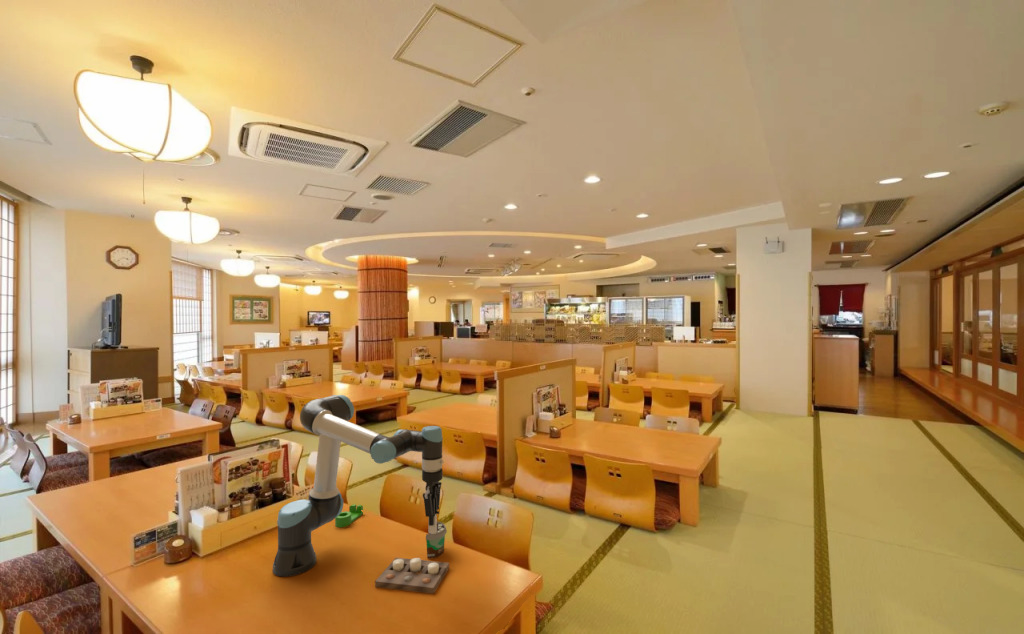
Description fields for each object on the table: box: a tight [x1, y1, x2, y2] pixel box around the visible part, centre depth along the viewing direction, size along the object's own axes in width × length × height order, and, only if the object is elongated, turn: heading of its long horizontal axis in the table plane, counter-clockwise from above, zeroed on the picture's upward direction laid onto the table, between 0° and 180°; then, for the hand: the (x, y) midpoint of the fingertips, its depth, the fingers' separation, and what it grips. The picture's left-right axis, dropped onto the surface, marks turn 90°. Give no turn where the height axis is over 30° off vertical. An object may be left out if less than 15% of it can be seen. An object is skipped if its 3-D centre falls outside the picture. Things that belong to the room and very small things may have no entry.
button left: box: [392, 559, 404, 571], centre depth 164 cm, size 4×4×3 cm
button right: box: [428, 563, 439, 575], centre depth 161 cm, size 4×4×3 cm
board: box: [374, 557, 450, 595], centre depth 161 cm, size 22×16×2 cm
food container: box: [425, 521, 448, 559], centre depth 178 cm, size 12×6×10 cm, turn 168°
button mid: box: [410, 557, 422, 573], centre depth 163 cm, size 4×4×3 cm
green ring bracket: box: [334, 503, 364, 528], centre depth 209 cm, size 15×7×5 cm, turn 167°
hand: (432, 532), depth 161 cm, fingers closed
